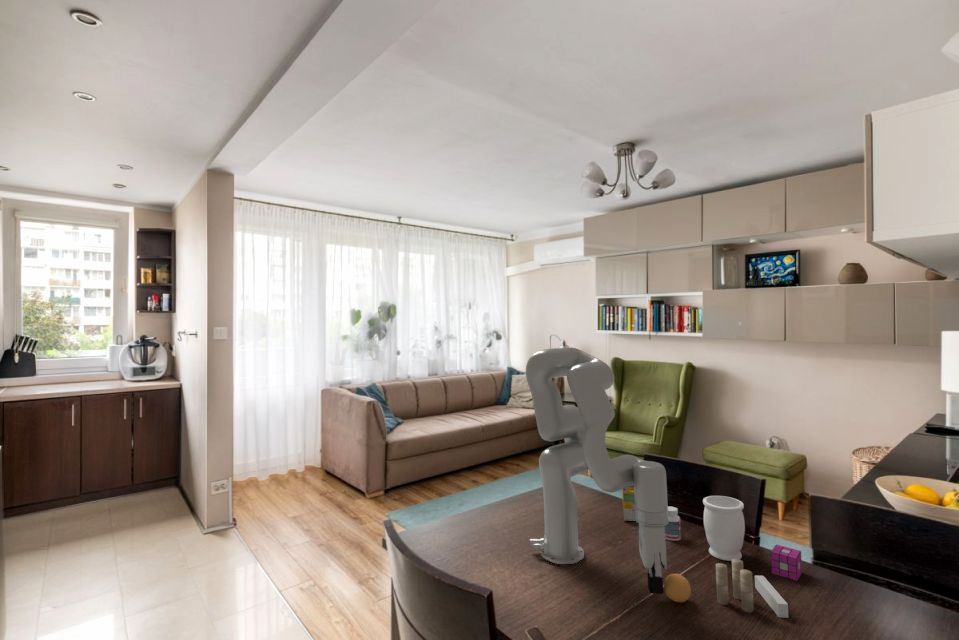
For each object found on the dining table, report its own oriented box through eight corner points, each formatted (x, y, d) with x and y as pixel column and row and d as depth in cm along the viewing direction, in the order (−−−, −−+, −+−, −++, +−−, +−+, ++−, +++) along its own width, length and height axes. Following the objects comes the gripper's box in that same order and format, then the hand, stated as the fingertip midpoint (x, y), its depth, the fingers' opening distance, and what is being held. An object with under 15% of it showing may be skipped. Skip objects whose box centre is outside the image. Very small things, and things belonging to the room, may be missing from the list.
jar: (730, 567, 126) (727, 511, 126) (696, 551, 135) (694, 499, 135) (754, 557, 131) (752, 503, 131) (720, 542, 140) (718, 492, 140)
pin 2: (744, 612, 106) (742, 574, 107) (739, 605, 109) (738, 569, 109) (755, 612, 106) (753, 575, 106) (750, 606, 108) (749, 569, 109)
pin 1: (735, 599, 111) (733, 563, 112) (731, 593, 114) (730, 558, 114) (746, 599, 111) (744, 563, 111) (742, 594, 113) (740, 559, 114)
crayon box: (645, 519, 158) (644, 485, 159) (646, 523, 156) (645, 488, 156) (623, 518, 160) (621, 484, 160) (623, 521, 157) (622, 487, 157)
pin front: (719, 604, 110) (717, 568, 110) (715, 598, 112) (714, 563, 112) (730, 605, 109) (728, 568, 109) (726, 599, 112) (724, 563, 112)
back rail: (778, 617, 104) (778, 603, 104) (755, 587, 116) (754, 575, 116) (788, 617, 104) (787, 604, 104) (763, 587, 116) (763, 575, 116)
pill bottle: (682, 541, 142) (681, 512, 142) (664, 540, 143) (663, 511, 143) (678, 534, 147) (677, 505, 147) (661, 533, 148) (660, 505, 148)
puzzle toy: (802, 572, 122) (801, 550, 123) (797, 581, 118) (796, 558, 118) (776, 565, 126) (775, 544, 127) (771, 573, 122) (770, 551, 122)
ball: (671, 578, 109) (697, 589, 108) (666, 564, 115) (691, 575, 114) (662, 600, 110) (688, 612, 109) (658, 585, 116) (682, 596, 115)
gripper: (630, 503, 121) (634, 575, 120) (640, 527, 106) (645, 609, 106) (661, 503, 120) (665, 576, 119) (675, 528, 105) (680, 611, 104)
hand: (655, 591), depth 112 cm, fingers closed
